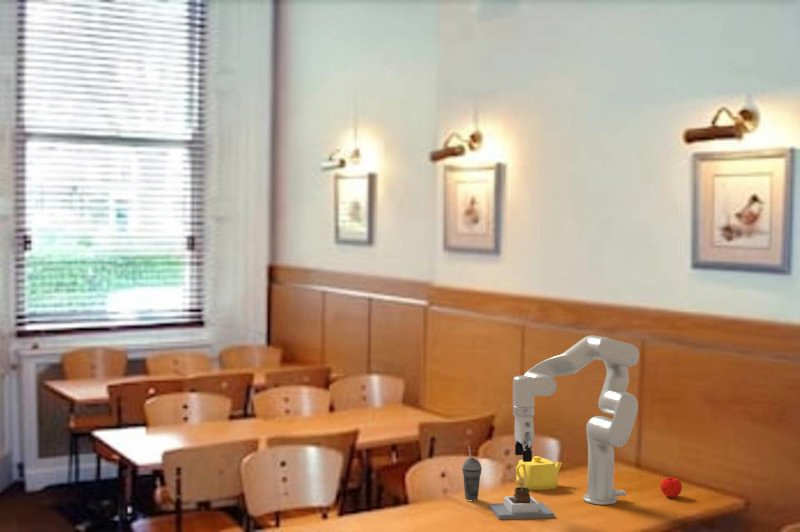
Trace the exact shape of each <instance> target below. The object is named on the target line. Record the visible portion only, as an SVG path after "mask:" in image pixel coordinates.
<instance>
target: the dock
mask: <svg viewBox="0 0 800 532" xmlns="http://www.w3.org/2000/svg"><path fill="white" fill-rule="evenodd" d="M488 509H489V510H490V511H491V510H492V511H493V512H492V513H493V514H494V516H495V517H496V518H497V517H498V518H497V519H498V520H521V519H523V520H525V519H549V518H551V519H553V518H555V512H553V510H552V509H550V508H549V507H548V506H547V505H546V504H545V503H544V502H543V501H540V502H539V501H537V500H536V498H534V497H533V496H531V495H530V503H520V504H514V495H513V496H503V502H502V503H501V502H500V503H499V502H498V503H488Z"/></svg>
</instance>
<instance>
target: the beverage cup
mask: <svg viewBox="0 0 800 532" xmlns="http://www.w3.org/2000/svg"><path fill="white" fill-rule="evenodd" d="M468 454H469V455H468V456H469V458H467V459H466V460H465V461H464V462H463V464H462V468H461V469H462V474H463V484H464V485H463V486H464V487H463V488H464V497H465V498H464V499H467V500H472V501H471V502H475V501H474V500H477V501H478V498H479V488H480V480H481V479H480V478H481V475H482V464H481V462H480V461H479V460H478V459H477V458H474V457H472V455H471V454H472V453H471V446H470V445H469V446H468ZM467 500H466V501H467Z"/></svg>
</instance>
